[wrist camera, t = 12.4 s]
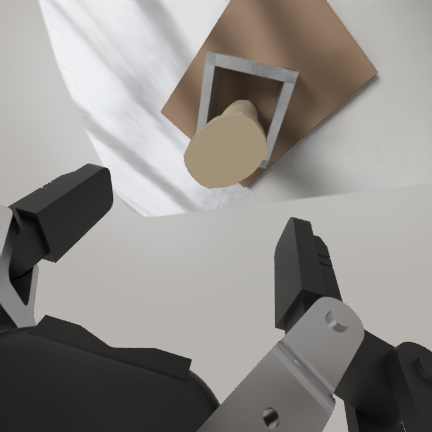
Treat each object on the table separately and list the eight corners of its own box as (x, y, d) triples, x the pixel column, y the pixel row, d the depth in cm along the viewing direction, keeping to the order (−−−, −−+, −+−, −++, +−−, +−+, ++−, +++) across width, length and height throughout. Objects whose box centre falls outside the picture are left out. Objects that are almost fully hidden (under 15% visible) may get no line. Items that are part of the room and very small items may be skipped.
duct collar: (216, 51, 26) (206, 50, 22) (294, 69, 25) (299, 72, 21) (203, 138, 32) (194, 150, 28) (266, 154, 31) (266, 168, 27)
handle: (275, 113, 28) (278, 160, 16) (233, 141, 31) (209, 198, 19) (256, 76, 26) (242, 98, 14) (212, 110, 29) (172, 151, 17)
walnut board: (274, -65, 21) (274, -70, 20) (374, 71, 25) (377, 71, 24) (163, 110, 32) (160, 112, 31) (245, 185, 36) (244, 188, 35)
